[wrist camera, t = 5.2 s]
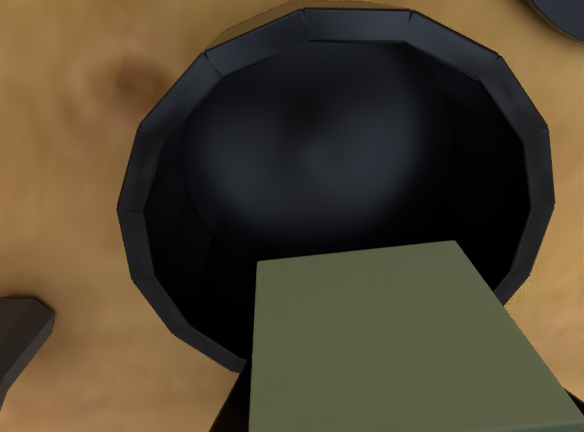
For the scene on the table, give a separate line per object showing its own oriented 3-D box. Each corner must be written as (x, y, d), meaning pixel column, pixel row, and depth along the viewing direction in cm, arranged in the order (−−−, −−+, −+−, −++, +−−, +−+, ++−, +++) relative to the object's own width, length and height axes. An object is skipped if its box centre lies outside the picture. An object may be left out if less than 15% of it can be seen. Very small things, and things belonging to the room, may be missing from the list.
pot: (487, 233, 21) (566, 324, 16) (245, 315, 23) (236, 422, 17) (431, -64, 15) (530, -94, 9) (104, 82, 17) (20, 132, 11)
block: (455, 239, 9) (589, 420, 5) (440, 375, 11) (528, 577, 7) (256, 260, 9) (246, 457, 5) (278, 393, 11) (283, 602, 7)
